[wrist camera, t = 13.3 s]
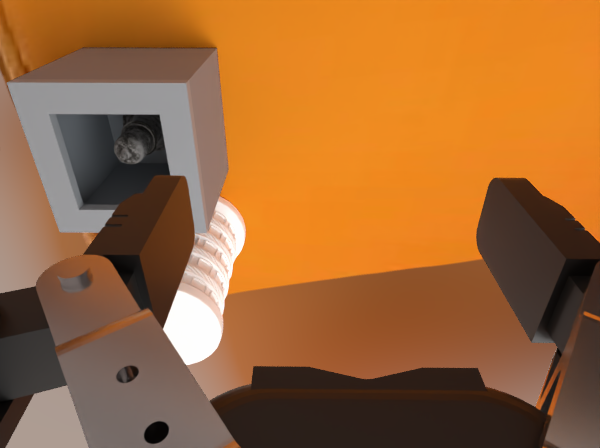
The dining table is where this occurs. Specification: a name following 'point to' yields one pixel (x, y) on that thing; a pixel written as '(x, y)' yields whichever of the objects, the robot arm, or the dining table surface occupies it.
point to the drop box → (109, 122)
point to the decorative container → (206, 286)
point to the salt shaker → (139, 137)
